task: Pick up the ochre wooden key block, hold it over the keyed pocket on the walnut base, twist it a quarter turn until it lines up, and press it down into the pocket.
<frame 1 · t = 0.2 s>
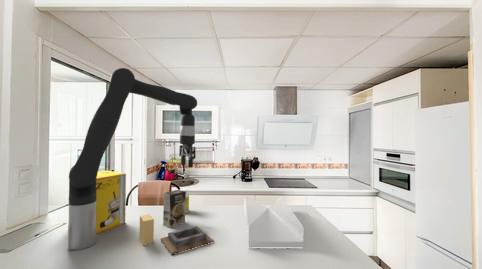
hand: (186, 166, 117), 29 cm above the countertop, tool pointing down, fingers open, 8 cm apart
key block: (146, 241, 96), on the countertop
slot base: (186, 241, 96), on the countertop
building model: (267, 227, 114), on the countertop
packaging box: (99, 225, 110), on the countertop
supplement bottle: (182, 212, 131), on the countertop
coffee box: (174, 224, 114), on the countertop
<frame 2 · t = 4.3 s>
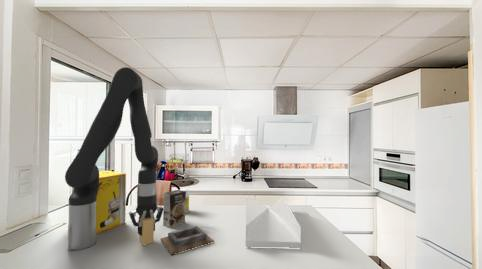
hand: (146, 233, 96), 3 cm above the countertop, tool pointing down, fingers closed on key block, 4 cm apart
key block: (146, 241, 96), on the countertop, touching gripper
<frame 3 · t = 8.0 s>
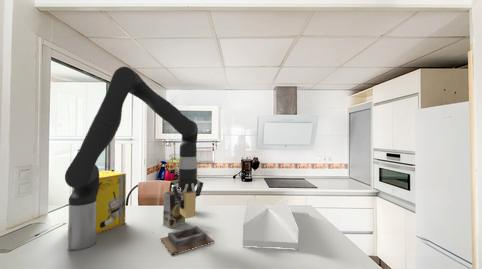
hand: (187, 207, 96), 15 cm above the countertop, tool pointing down, fingers closed on key block, 4 cm apart
key block: (187, 214, 96), point 11 cm above the countertop, touching gripper
when the fingers open (5 cm above the countertop, at t = 11.6 s): key block stays where it is, resting on slot base.
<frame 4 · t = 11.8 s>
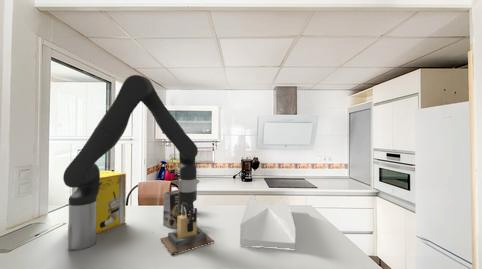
hand: (187, 228, 96), 6 cm above the countertop, tool pointing down, fingers open, 6 cm apart
key block: (186, 239, 96), point 1 cm above the countertop, touching slot base
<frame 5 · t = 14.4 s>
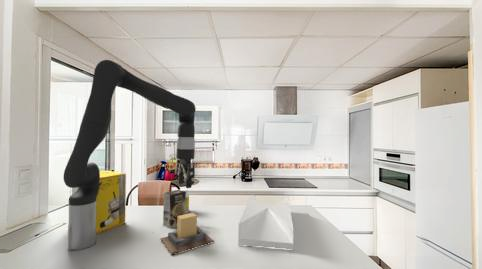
hand: (184, 185, 96), 24 cm above the countertop, tool pointing down, fingers open, 8 cm apart
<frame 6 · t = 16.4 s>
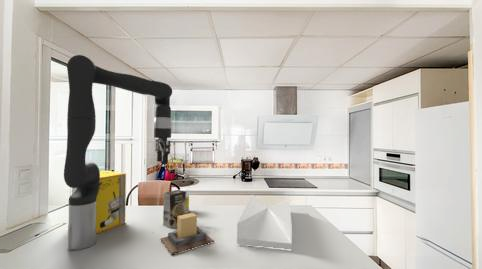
hand: (162, 162, 105), 32 cm above the countertop, tool pointing down, fingers open, 8 cm apart
at the end: key block 0.1 cm off-centre on the slot base, point 1.0 cm above the slot base's base; key block tilted 0°; the gripper is holding nothing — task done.
